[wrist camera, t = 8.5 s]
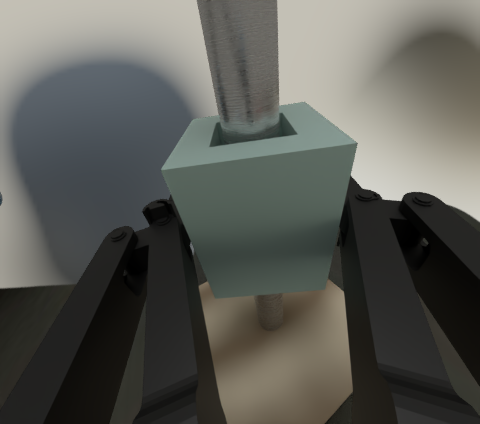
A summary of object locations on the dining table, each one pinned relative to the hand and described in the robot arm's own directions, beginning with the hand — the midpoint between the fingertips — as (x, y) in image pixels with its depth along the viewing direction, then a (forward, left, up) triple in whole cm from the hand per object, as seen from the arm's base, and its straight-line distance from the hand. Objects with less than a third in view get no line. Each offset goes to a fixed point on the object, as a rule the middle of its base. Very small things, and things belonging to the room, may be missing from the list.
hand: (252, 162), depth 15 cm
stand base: (+4, -3, -16) cm, 17 cm away
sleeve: (+4, -3, -4) cm, 7 cm away
